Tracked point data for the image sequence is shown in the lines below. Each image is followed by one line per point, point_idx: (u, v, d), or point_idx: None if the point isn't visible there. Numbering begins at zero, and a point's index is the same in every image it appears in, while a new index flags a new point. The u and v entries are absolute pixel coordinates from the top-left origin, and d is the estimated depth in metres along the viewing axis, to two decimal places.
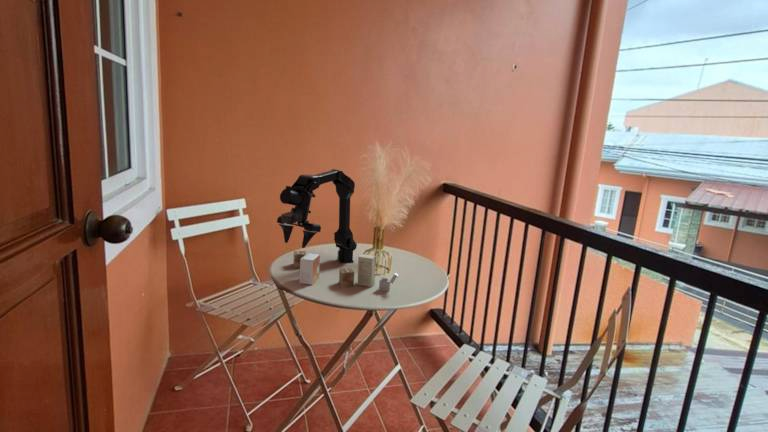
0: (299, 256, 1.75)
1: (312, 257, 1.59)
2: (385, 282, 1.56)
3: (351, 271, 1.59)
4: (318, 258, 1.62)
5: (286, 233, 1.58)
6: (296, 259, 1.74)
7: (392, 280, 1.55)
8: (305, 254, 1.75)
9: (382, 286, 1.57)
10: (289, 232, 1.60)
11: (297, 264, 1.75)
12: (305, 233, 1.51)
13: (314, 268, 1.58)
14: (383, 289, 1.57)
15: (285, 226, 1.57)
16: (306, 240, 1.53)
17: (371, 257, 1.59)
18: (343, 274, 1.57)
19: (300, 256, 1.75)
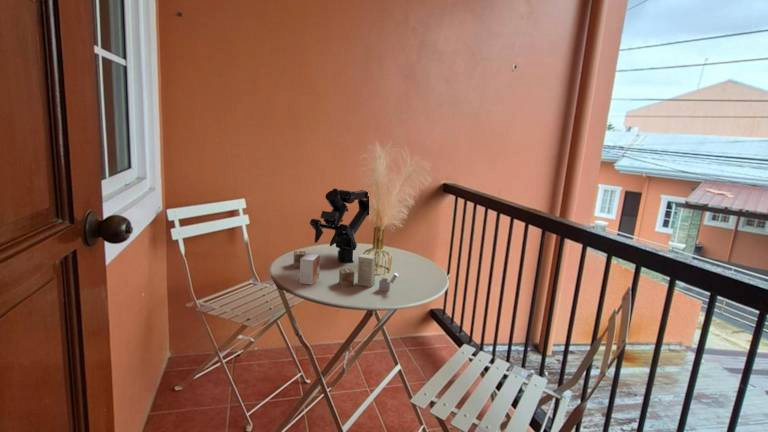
0: (299, 256, 1.75)
1: (312, 257, 1.59)
2: (385, 282, 1.56)
3: (351, 271, 1.59)
4: (318, 258, 1.62)
5: (318, 234, 1.70)
6: (296, 259, 1.74)
7: (392, 280, 1.55)
8: (305, 254, 1.75)
9: (382, 286, 1.57)
10: (319, 235, 1.71)
11: (297, 264, 1.75)
12: (337, 231, 1.66)
13: (314, 268, 1.58)
14: (383, 289, 1.57)
15: (319, 227, 1.71)
16: (335, 239, 1.67)
17: (371, 257, 1.59)
18: (343, 274, 1.57)
19: (300, 256, 1.75)
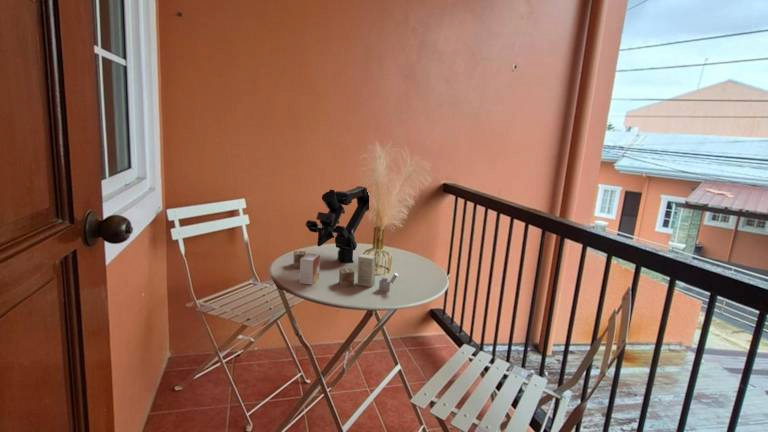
0: (299, 256, 1.75)
1: (312, 257, 1.59)
2: (385, 282, 1.56)
3: (351, 271, 1.59)
4: (318, 258, 1.62)
5: (320, 237, 1.66)
6: (296, 259, 1.74)
7: (392, 280, 1.55)
8: (305, 254, 1.75)
9: (382, 286, 1.57)
10: None
11: (297, 264, 1.75)
12: (326, 232, 1.65)
13: (314, 268, 1.58)
14: (383, 289, 1.57)
15: (322, 230, 1.66)
16: (323, 239, 1.65)
17: (371, 257, 1.59)
18: (343, 274, 1.57)
19: (300, 256, 1.75)
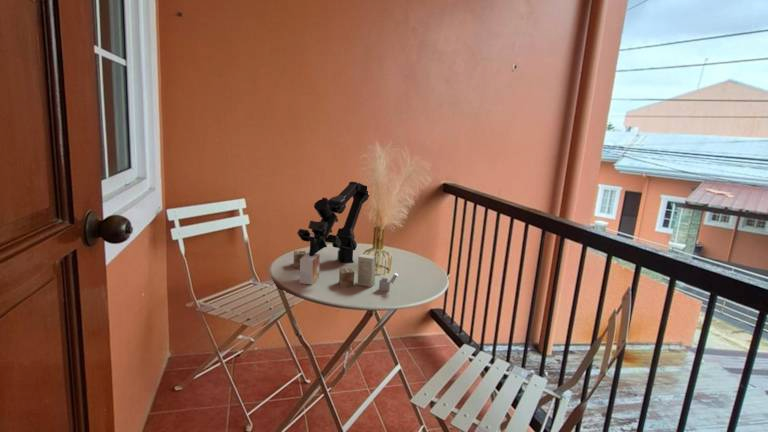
0: (299, 256, 1.75)
1: (311, 257, 1.58)
2: (385, 282, 1.56)
3: (351, 271, 1.59)
4: (318, 258, 1.61)
5: (313, 246, 1.61)
6: (296, 259, 1.74)
7: (392, 280, 1.55)
8: (305, 254, 1.75)
9: (382, 286, 1.57)
10: None
11: (297, 264, 1.75)
12: (318, 241, 1.60)
13: (314, 268, 1.58)
14: (383, 289, 1.57)
15: (314, 239, 1.62)
16: (316, 248, 1.60)
17: (371, 257, 1.59)
18: (343, 274, 1.57)
19: (300, 256, 1.75)
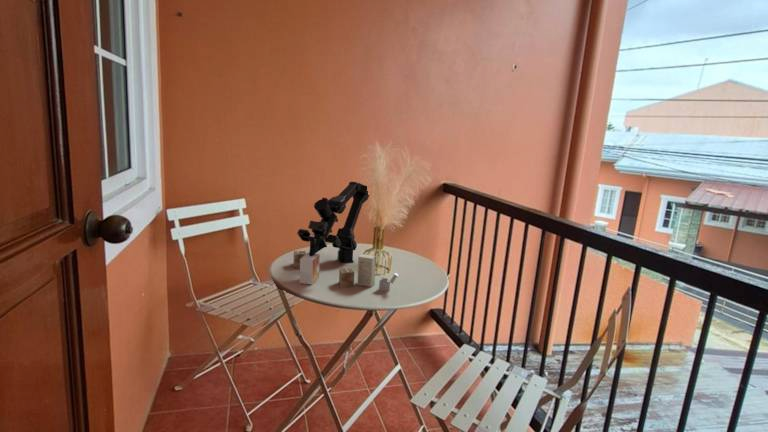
0: (299, 256, 1.75)
1: (311, 257, 1.58)
2: (385, 282, 1.56)
3: (351, 271, 1.59)
4: (318, 258, 1.61)
5: (313, 246, 1.61)
6: (296, 259, 1.74)
7: (392, 280, 1.55)
8: (305, 254, 1.75)
9: (382, 286, 1.57)
10: None
11: (297, 264, 1.75)
12: (318, 241, 1.60)
13: (314, 268, 1.58)
14: (383, 289, 1.57)
15: (314, 239, 1.62)
16: (316, 248, 1.60)
17: (371, 257, 1.59)
18: (343, 274, 1.57)
19: (300, 256, 1.75)
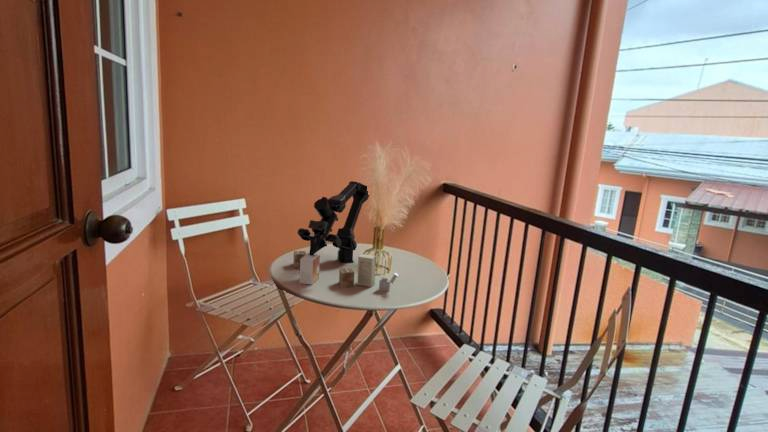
0: (299, 256, 1.75)
1: (312, 257, 1.59)
2: (385, 282, 1.56)
3: (351, 271, 1.59)
4: (318, 258, 1.62)
5: (313, 246, 1.61)
6: (296, 259, 1.74)
7: (392, 280, 1.55)
8: (305, 254, 1.75)
9: (382, 286, 1.57)
10: None
11: (297, 264, 1.75)
12: (318, 240, 1.60)
13: (314, 268, 1.58)
14: (383, 289, 1.57)
15: (314, 239, 1.62)
16: (316, 248, 1.60)
17: (371, 257, 1.59)
18: (343, 274, 1.57)
19: (300, 256, 1.75)
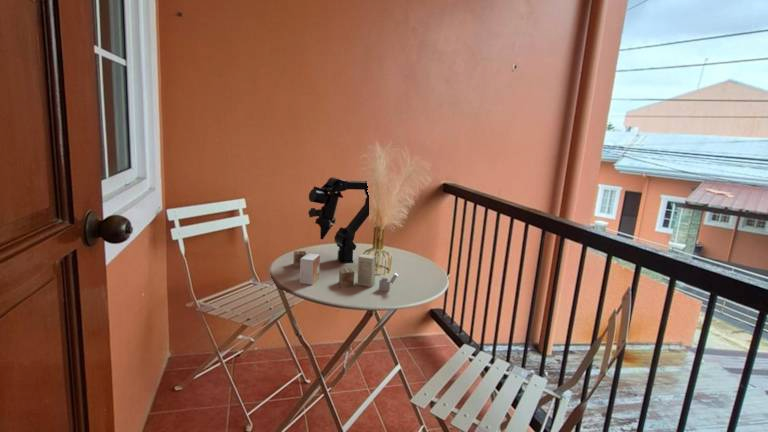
0: (299, 256, 1.75)
1: (312, 257, 1.59)
2: (385, 282, 1.56)
3: (351, 271, 1.59)
4: (318, 258, 1.62)
5: None
6: (296, 259, 1.74)
7: (392, 280, 1.55)
8: (305, 254, 1.75)
9: (382, 286, 1.57)
10: None
11: (297, 264, 1.75)
12: None
13: (314, 268, 1.58)
14: (383, 289, 1.57)
15: None
16: (321, 232, 1.76)
17: (371, 257, 1.59)
18: (343, 274, 1.57)
19: (300, 256, 1.75)
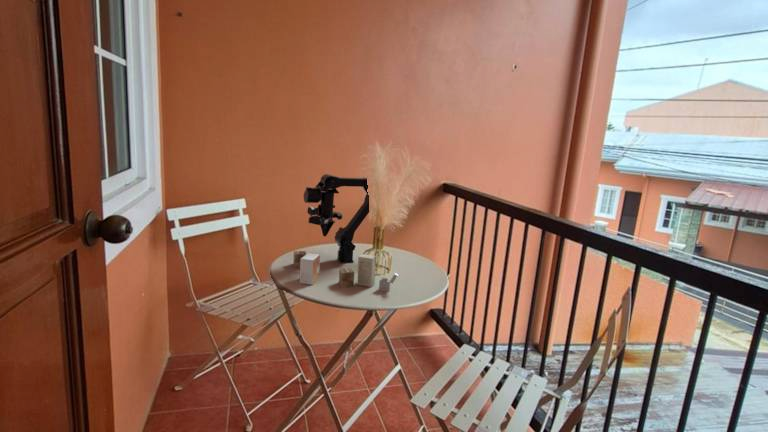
0: (299, 256, 1.75)
1: (312, 257, 1.59)
2: (385, 282, 1.56)
3: (351, 271, 1.59)
4: (318, 258, 1.62)
5: None
6: (296, 259, 1.74)
7: (392, 280, 1.55)
8: (305, 254, 1.75)
9: (382, 286, 1.57)
10: None
11: (297, 264, 1.75)
12: None
13: (314, 268, 1.58)
14: (383, 289, 1.57)
15: None
16: (322, 229, 1.79)
17: (371, 257, 1.59)
18: (343, 274, 1.57)
19: (300, 256, 1.75)
